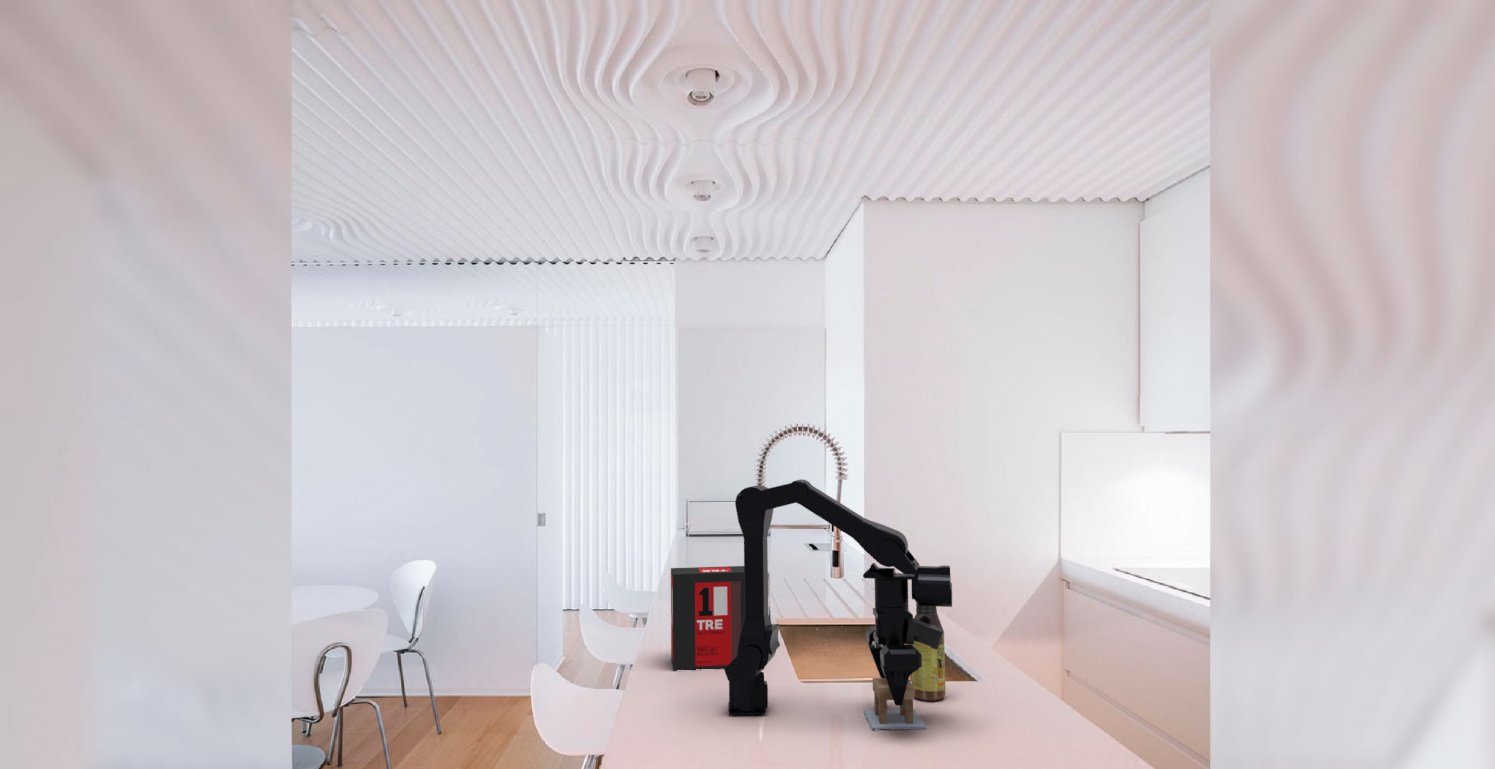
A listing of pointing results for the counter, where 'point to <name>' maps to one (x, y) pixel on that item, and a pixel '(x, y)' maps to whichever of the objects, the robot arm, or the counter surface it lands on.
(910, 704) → the stool
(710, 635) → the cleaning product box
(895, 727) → the pad
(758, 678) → the robot arm
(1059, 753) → the counter surface
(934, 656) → the sauce bottle
